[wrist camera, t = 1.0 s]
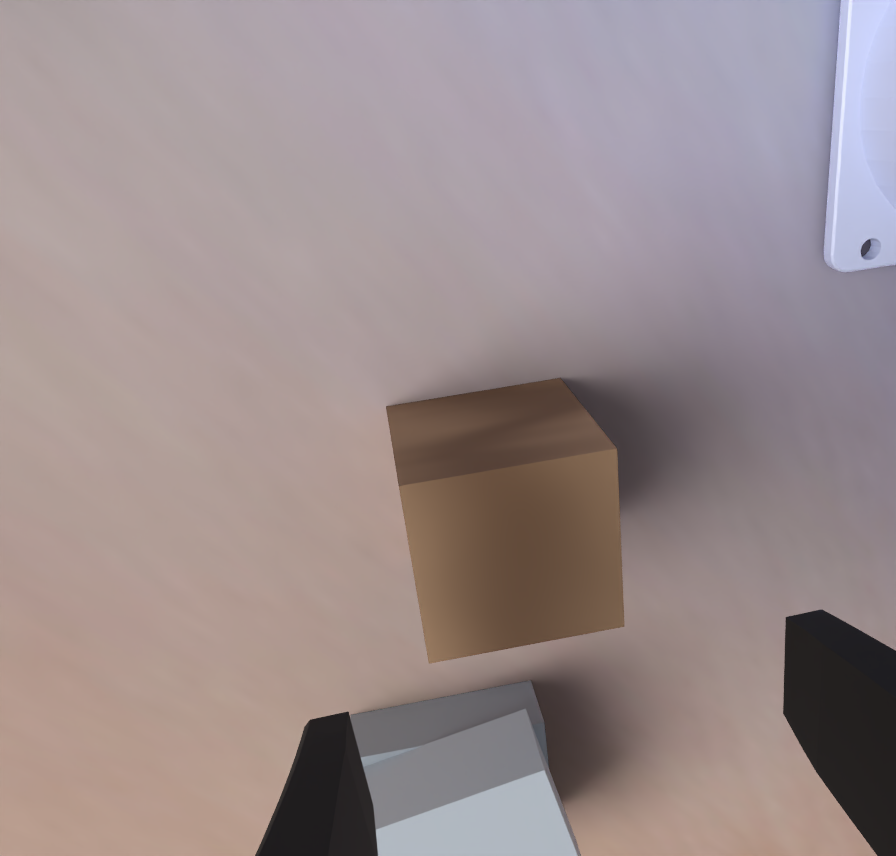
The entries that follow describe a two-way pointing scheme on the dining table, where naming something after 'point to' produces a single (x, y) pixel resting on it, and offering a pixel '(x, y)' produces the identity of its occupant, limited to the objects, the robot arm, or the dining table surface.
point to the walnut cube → (509, 517)
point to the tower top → (471, 796)
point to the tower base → (441, 720)
